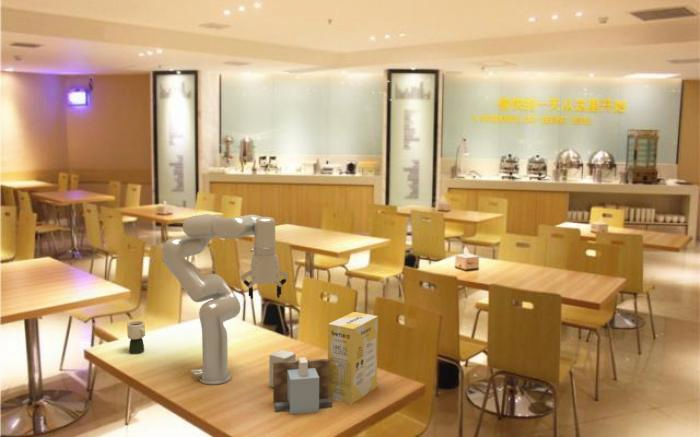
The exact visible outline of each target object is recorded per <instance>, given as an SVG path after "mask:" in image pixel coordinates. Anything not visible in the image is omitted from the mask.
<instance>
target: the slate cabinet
mask: <svg viewBox="0 0 700 437" xmlns="http://www.w3.org/2000/svg"><path fill="white" fill-rule="evenodd" d="M307 360H308V359H307V357H304V356H303V357H298V361H299V369H292V370H287V402H289V404H290V411H289V414H290V415H297V414H308V413H319V412H320V408H319V376H318V374H317V371H316V369H315V368H308V362H307Z"/></svg>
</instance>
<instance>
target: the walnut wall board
mask: <svg viewBox="0 0 700 437" xmlns="http://www.w3.org/2000/svg"><path fill="white" fill-rule="evenodd" d="M307 362H308V368H315V369H316V371H317V374H318V376H319V409H328V408H333V401H332V399H331V398H329V359H328V358H319V359H307ZM292 369H299V360H295V361H285V362H273V387H272V389H273V390H272V395H273V396H272V397H273V398H272V404H274V411H275V413H277V412H278V413H279V412H290V404H289V402H287V370H292Z"/></svg>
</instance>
